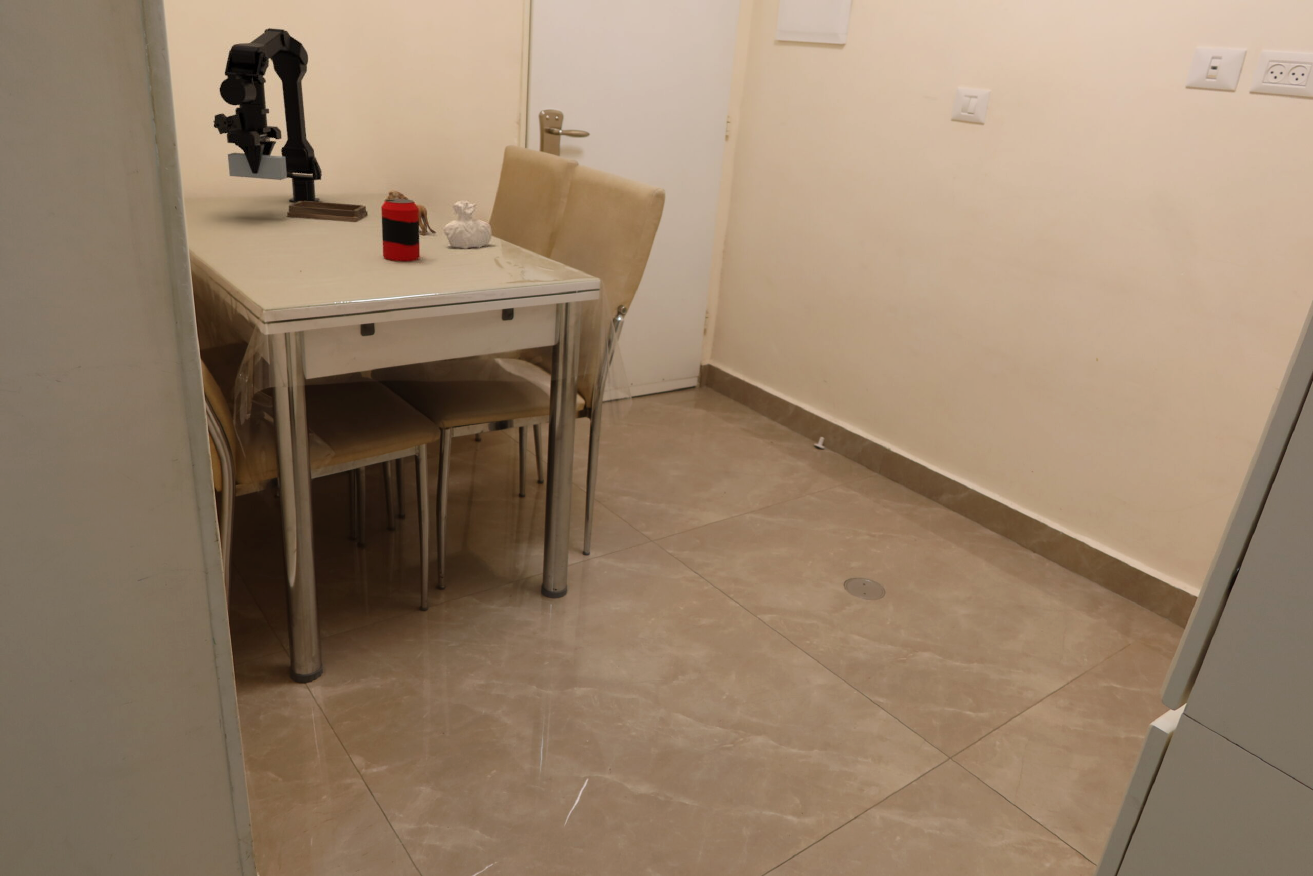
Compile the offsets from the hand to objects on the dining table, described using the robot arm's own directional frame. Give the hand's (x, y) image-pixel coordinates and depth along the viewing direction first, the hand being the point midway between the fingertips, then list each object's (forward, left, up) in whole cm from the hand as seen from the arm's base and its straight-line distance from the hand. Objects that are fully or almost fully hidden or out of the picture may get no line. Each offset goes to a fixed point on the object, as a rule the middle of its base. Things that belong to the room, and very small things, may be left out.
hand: (258, 172), depth 218 cm
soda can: (+33, +41, -11) cm, 54 cm away
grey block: (0, 0, -1) cm, 1 cm away
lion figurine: (+2, +36, -11) cm, 38 cm away
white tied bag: (+15, +52, -11) cm, 55 cm away
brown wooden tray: (-10, +13, -11) cm, 20 cm away
